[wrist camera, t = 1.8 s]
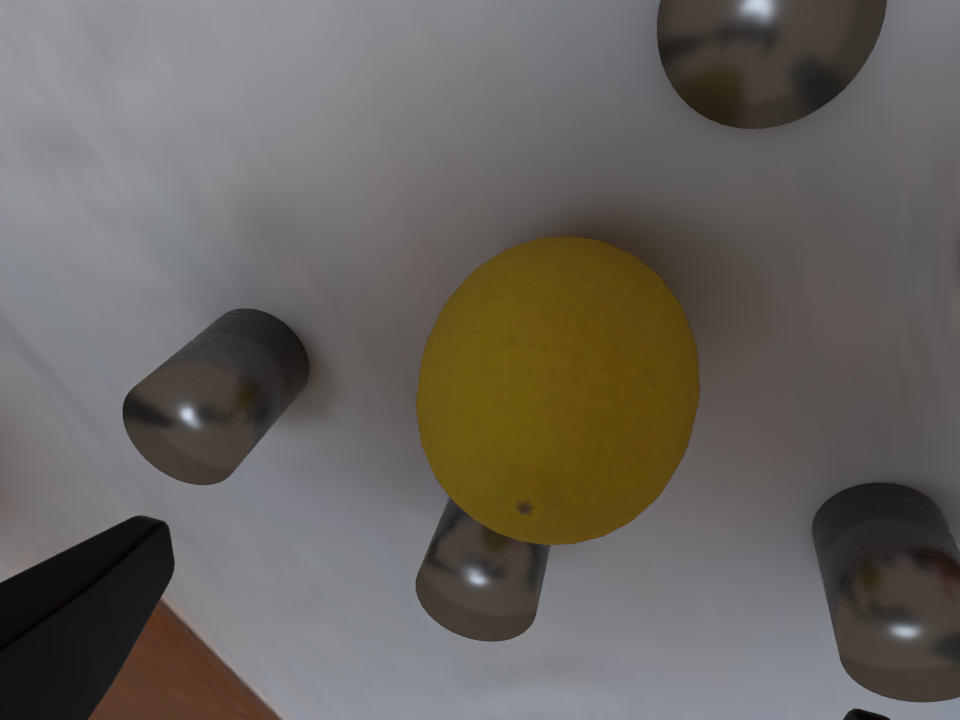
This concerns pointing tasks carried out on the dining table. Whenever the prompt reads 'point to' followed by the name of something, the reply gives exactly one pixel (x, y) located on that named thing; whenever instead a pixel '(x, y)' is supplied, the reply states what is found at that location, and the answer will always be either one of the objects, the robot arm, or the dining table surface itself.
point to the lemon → (558, 390)
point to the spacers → (521, 565)
